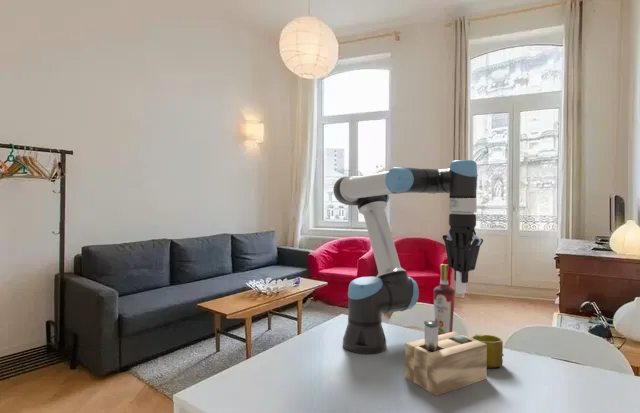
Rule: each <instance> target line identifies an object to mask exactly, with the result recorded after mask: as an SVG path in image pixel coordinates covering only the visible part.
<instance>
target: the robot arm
mask: <svg viewBox="0 0 640 413" xmlns="http://www.w3.org/2000/svg"><path fill="white" fill-rule="evenodd" d="M478 176H479V175H478V164H477V162H476V161H475V160H470V159H459V160H458V159H457V160H452V161H450V162H449V168H421V167H419V168H418V167H405V166H396V167H391V168H390V169H389V170H387V171H382V172H378V173H372V174H367V175H362V176H361V175H359V176H357V175H344V176H342V177H340V178H338V179H337V180H336V181H335V183H334V185H333V190H332V191H333V195H334V197H335V199H336V200H337V201H338V202H339V203H341V204H342V205H346V206H347V205H348V206H357V210H358V213H359V214H361V215H363V218H364V222H365V226H366V229H367V233H368V237H369V242H370V245H371V249H372V252H373V256H374V261H375V264H376V267H377V268H376V269H377V272H378V273H377V274H376V276H361V277H356V278H355V279H353V280H351V281H350V283H349V285H348V292H347V297H348V299H347V301H348V302H347V307H348V308H347V311H348V312H347V326H346V328H345V331H344V335H343V337H342V347H343V348H344V349H345V350H348V351H350V352H352V353H355V354H364V355H368V354H369V355H371V354H379V353H382V352H384V351H385V350H386V349H387V337H386V335H385V334H386V333H385V331H384V328H383V325H382V319H383V318H382V317H383V314H390V313H396V312H397V313H398V312H404V311H408V310H411V309H413V308H414V307H415V306H416V305H417V302H418V300H419V293H420V291H419V286H418V283H417V281H416V280H415V279H414V278H413V277H410V276H408V272H407V270H406V269H404V268H402V267H401V262H400V259H399V256H398V251H397V249H396V245H395V241H394V238H393V234H392V232H391V227H390V224H389V220H388V216H387V213H386V209H387V206H388V202H389V200H390V195H396V194H398V195H399V194H408V193H409V194H410V193H415V194H416V193H419V194H421V193H422V194H433V195H434V194H448V195H449V204H448V205H449V207H448V209H449V210H448V211H449V212H450V213H449V215H448V225H449V227H450V228H449V229H448V230H449V231H448V233H447V234H444V235H442V239H443V241H444V245H445V246H444V247H445V252H446V256H447V258H446V259H447V263H448V264H447V265H448V268H452V269H453V271H454V276H453V277H454V282H455V294H458V295H463V294H466V293H467V284H468V283H469V272H471V271H474V270H475V269H476V264H477V262H478V256H479V252H480V248H481V246H482V245H483V243H484V239H483V238H479V236H477V233H476V230H475V227H476V226H477V215H476V214H475V213H477V205H478V204H477V189H478V188H477V186H478Z"/></svg>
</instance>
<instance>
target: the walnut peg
mask: <svg viewBox="0 0 640 413" xmlns="http://www.w3.org/2000/svg"><path fill="white" fill-rule="evenodd" d="M464 336H465V335H464ZM464 336H454V337H453V341H455V342H457V343H460V344H464V343H468V338H466V337H464Z"/></svg>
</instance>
